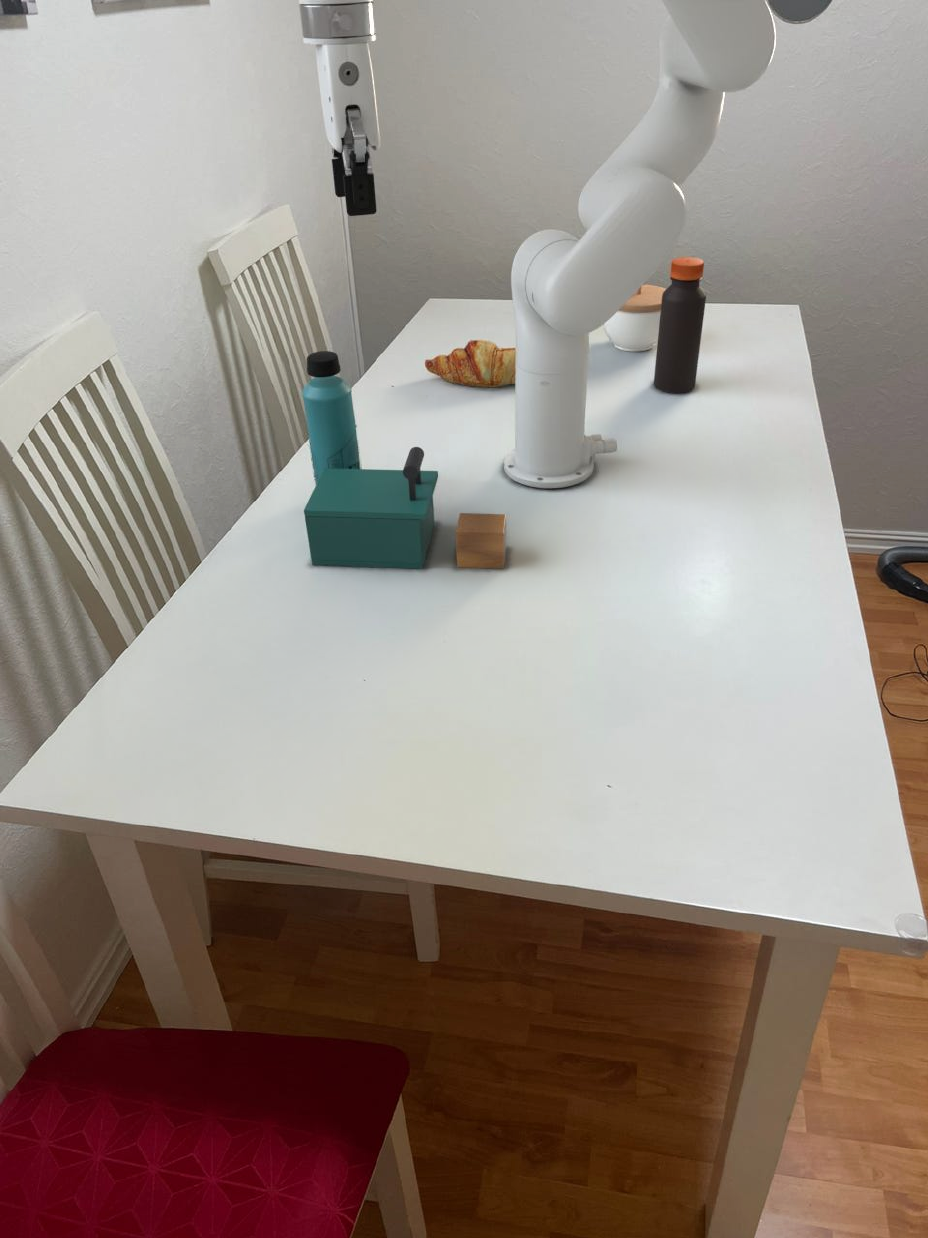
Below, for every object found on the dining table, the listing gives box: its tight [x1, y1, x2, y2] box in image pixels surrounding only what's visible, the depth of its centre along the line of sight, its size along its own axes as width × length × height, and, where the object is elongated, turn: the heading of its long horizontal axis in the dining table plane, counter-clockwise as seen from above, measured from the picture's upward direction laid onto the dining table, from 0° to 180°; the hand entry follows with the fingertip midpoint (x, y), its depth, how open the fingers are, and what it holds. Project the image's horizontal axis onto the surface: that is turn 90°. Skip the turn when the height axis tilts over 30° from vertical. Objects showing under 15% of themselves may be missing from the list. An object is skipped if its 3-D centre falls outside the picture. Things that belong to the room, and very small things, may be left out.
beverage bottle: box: [301, 350, 363, 486], centre depth 118 cm, size 6×7×20 cm
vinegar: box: [653, 256, 707, 394], centre depth 146 cm, size 7×7×20 cm
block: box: [455, 512, 507, 570], centre depth 110 cm, size 6×4×5 cm
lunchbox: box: [304, 496, 435, 570], centre depth 113 cm, size 14×11×7 cm
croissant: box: [424, 339, 516, 388], centre depth 155 cm, size 21×10×8 cm, turn 83°
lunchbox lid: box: [303, 446, 439, 520], centre depth 109 cm, size 14×11×5 cm
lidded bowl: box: [602, 283, 667, 353], centre depth 164 cm, size 13×13×11 cm
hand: (355, 204), depth 103 cm, fingers open, 9 cm apart
